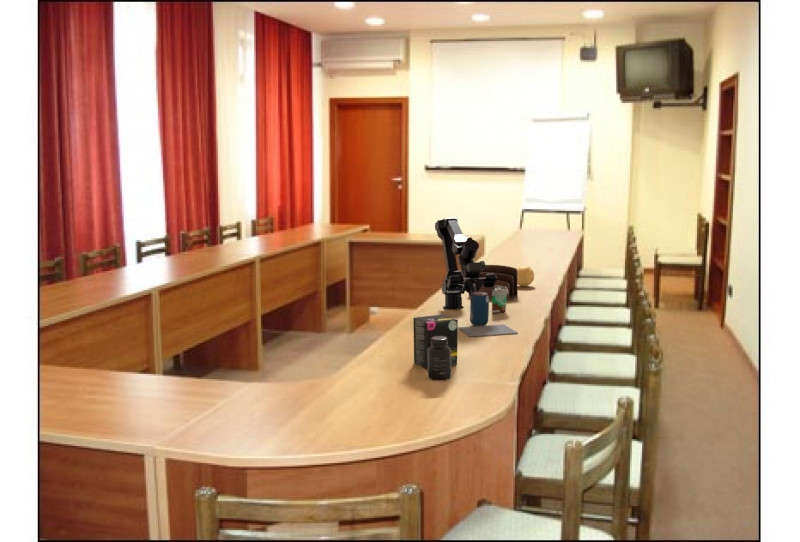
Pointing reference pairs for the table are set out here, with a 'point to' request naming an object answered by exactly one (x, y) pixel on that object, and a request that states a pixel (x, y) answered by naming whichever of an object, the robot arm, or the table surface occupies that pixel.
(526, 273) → the stress ball
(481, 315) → the soda can
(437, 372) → the supplement bottle
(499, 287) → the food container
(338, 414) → the table surface
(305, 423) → the table surface
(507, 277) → the letter holder
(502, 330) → the mat
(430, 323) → the tampon box
